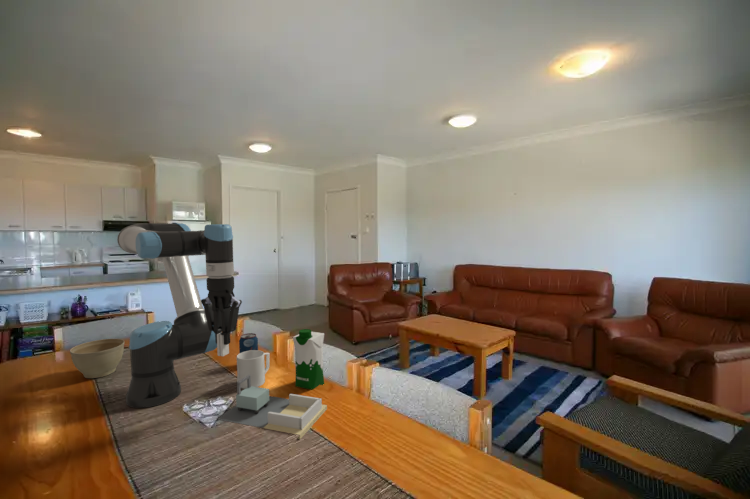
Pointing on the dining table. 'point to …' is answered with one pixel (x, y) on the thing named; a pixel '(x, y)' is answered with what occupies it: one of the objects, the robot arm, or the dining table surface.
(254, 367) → the mug
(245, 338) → the soda can
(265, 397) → the grey boxy piece
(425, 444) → the dining table surface
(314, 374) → the milk carton
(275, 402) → the dock
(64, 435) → the dining table surface
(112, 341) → the planter bowl
